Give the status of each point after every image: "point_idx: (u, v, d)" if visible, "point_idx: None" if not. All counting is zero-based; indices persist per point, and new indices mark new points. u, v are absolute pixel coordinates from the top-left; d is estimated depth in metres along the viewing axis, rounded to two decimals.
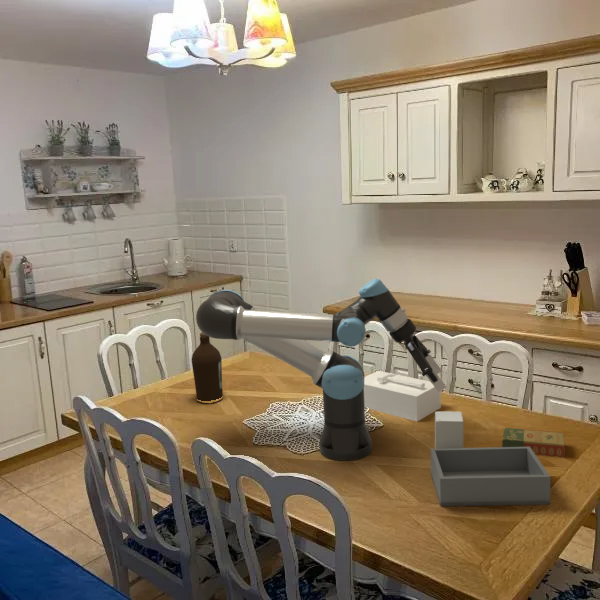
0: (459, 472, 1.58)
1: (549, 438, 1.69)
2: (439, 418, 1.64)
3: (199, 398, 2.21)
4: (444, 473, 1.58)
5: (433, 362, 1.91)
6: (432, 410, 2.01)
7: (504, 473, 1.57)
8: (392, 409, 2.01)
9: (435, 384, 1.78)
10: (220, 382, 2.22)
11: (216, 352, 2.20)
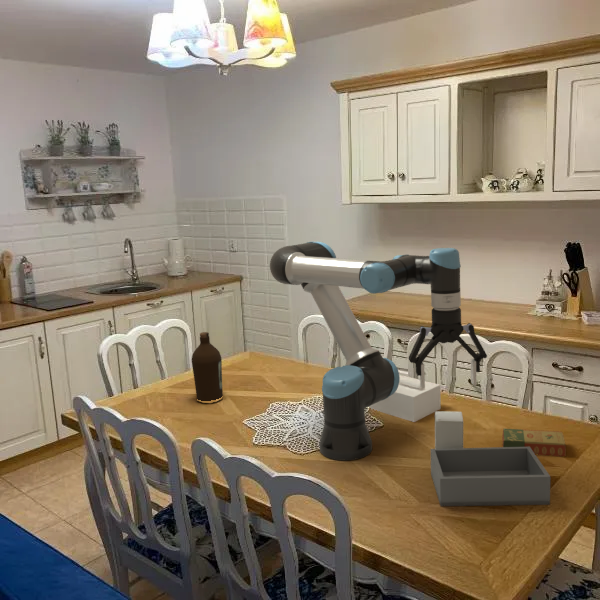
0: (459, 472, 1.58)
1: (549, 437, 1.69)
2: (439, 418, 1.64)
3: (199, 398, 2.21)
4: (444, 473, 1.58)
5: (472, 371, 1.63)
6: (430, 411, 2.00)
7: (504, 473, 1.57)
8: (390, 409, 2.01)
9: (420, 377, 1.66)
10: (220, 382, 2.22)
11: (216, 352, 2.20)
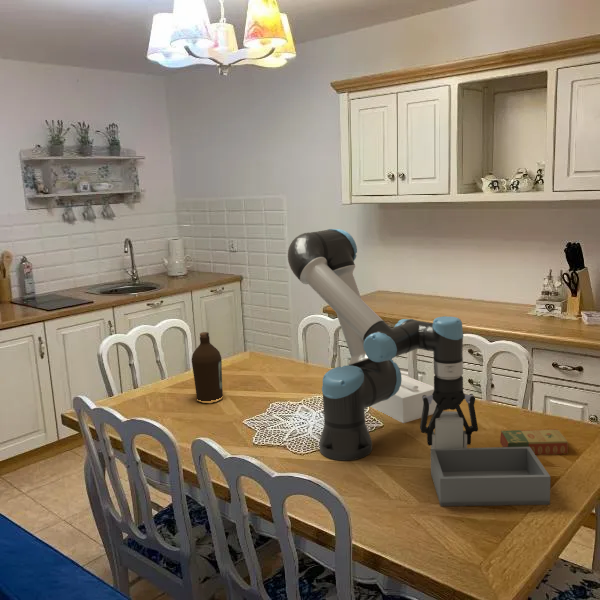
0: (459, 472, 1.58)
1: (549, 436, 1.70)
2: (439, 418, 1.64)
3: (199, 398, 2.21)
4: (444, 473, 1.58)
5: (463, 443, 1.66)
6: None
7: (504, 473, 1.57)
8: (384, 408, 2.02)
9: (431, 446, 1.68)
10: (220, 382, 2.22)
11: (216, 352, 2.20)
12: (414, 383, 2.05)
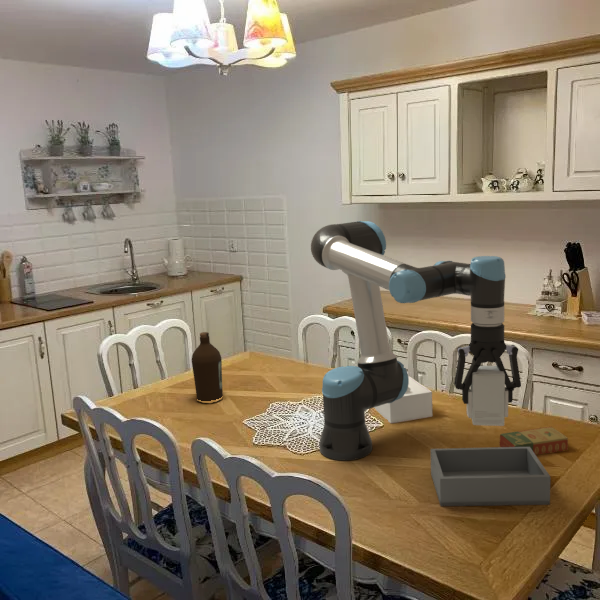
0: (459, 472, 1.58)
1: (549, 434, 1.71)
2: (476, 372, 1.45)
3: (199, 398, 2.21)
4: (444, 473, 1.58)
5: None
6: (416, 417, 1.97)
7: (504, 473, 1.57)
8: (379, 407, 2.03)
9: (467, 405, 1.49)
10: (220, 382, 2.22)
11: (216, 352, 2.20)
12: (412, 385, 2.03)
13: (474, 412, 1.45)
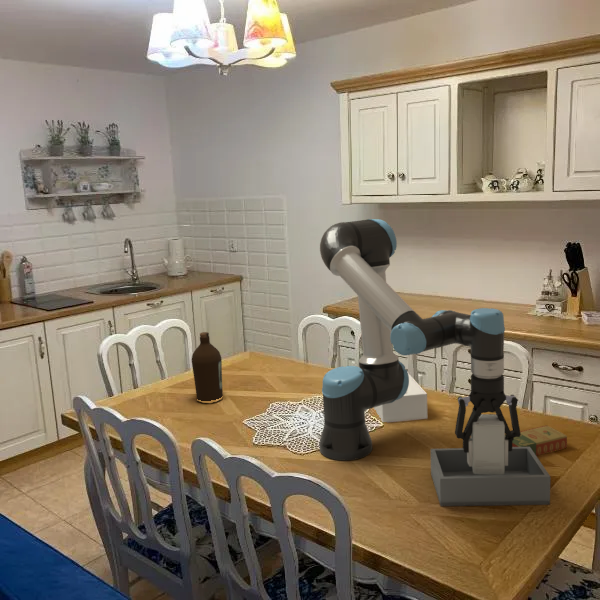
0: (459, 472, 1.58)
1: (548, 433, 1.72)
2: (477, 422, 1.47)
3: (199, 398, 2.21)
4: (444, 473, 1.58)
5: None
6: (410, 418, 1.96)
7: (504, 473, 1.57)
8: None
9: (467, 453, 1.51)
10: (220, 382, 2.22)
11: (216, 352, 2.20)
12: (411, 386, 2.03)
13: (474, 461, 1.47)
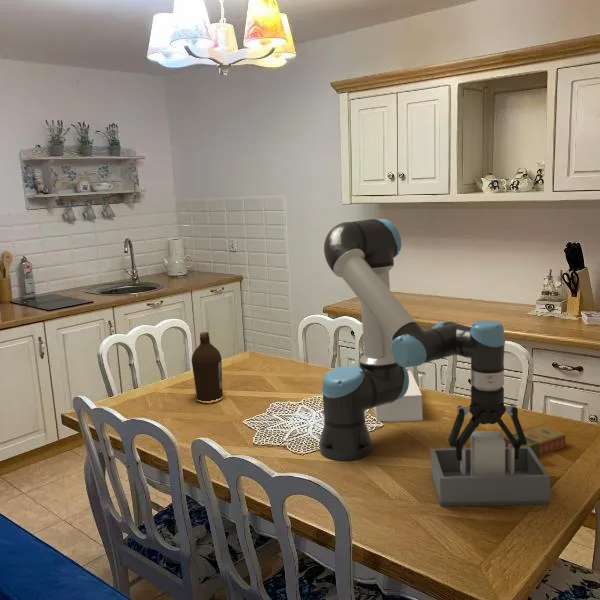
0: (459, 472, 1.58)
1: (547, 432, 1.72)
2: (477, 439, 1.48)
3: (199, 398, 2.21)
4: (444, 473, 1.58)
5: (510, 458, 1.49)
6: (405, 418, 1.96)
7: None
8: None
9: (460, 461, 1.52)
10: (220, 382, 2.22)
11: (216, 352, 2.20)
12: (409, 386, 2.02)
13: None
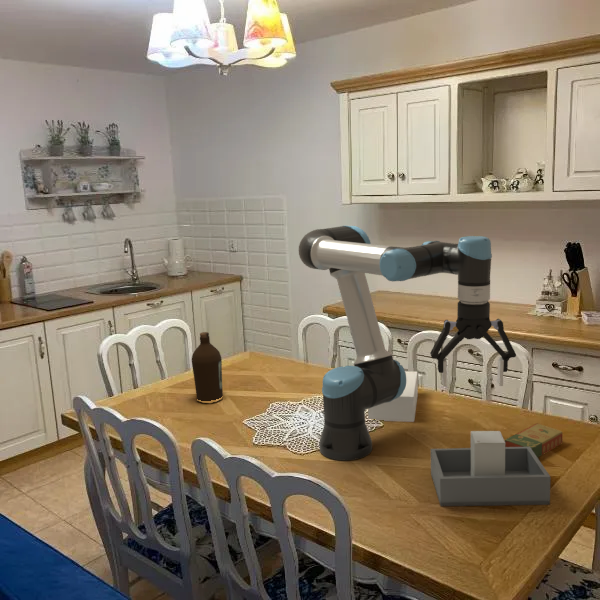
0: (459, 472, 1.58)
1: (545, 431, 1.73)
2: (477, 439, 1.48)
3: (199, 398, 2.21)
4: (444, 473, 1.58)
5: (499, 370, 1.51)
6: (396, 419, 1.96)
7: None
8: None
9: (442, 374, 1.54)
10: (220, 382, 2.22)
11: (216, 352, 2.20)
12: (406, 387, 2.01)
13: None
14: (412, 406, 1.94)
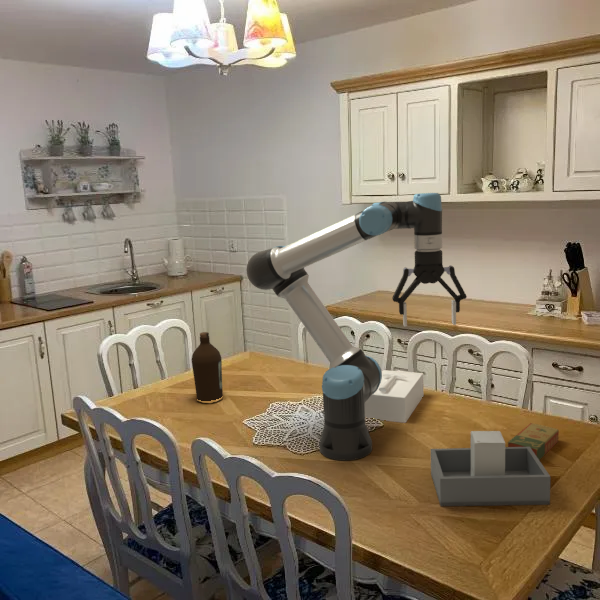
0: (459, 472, 1.58)
1: (543, 430, 1.74)
2: (477, 439, 1.48)
3: (199, 398, 2.21)
4: (444, 473, 1.58)
5: (452, 311, 1.72)
6: (388, 418, 1.96)
7: None
8: None
9: (403, 316, 1.75)
10: (220, 382, 2.22)
11: (216, 352, 2.20)
12: (402, 388, 2.01)
13: None
14: (403, 407, 1.93)
